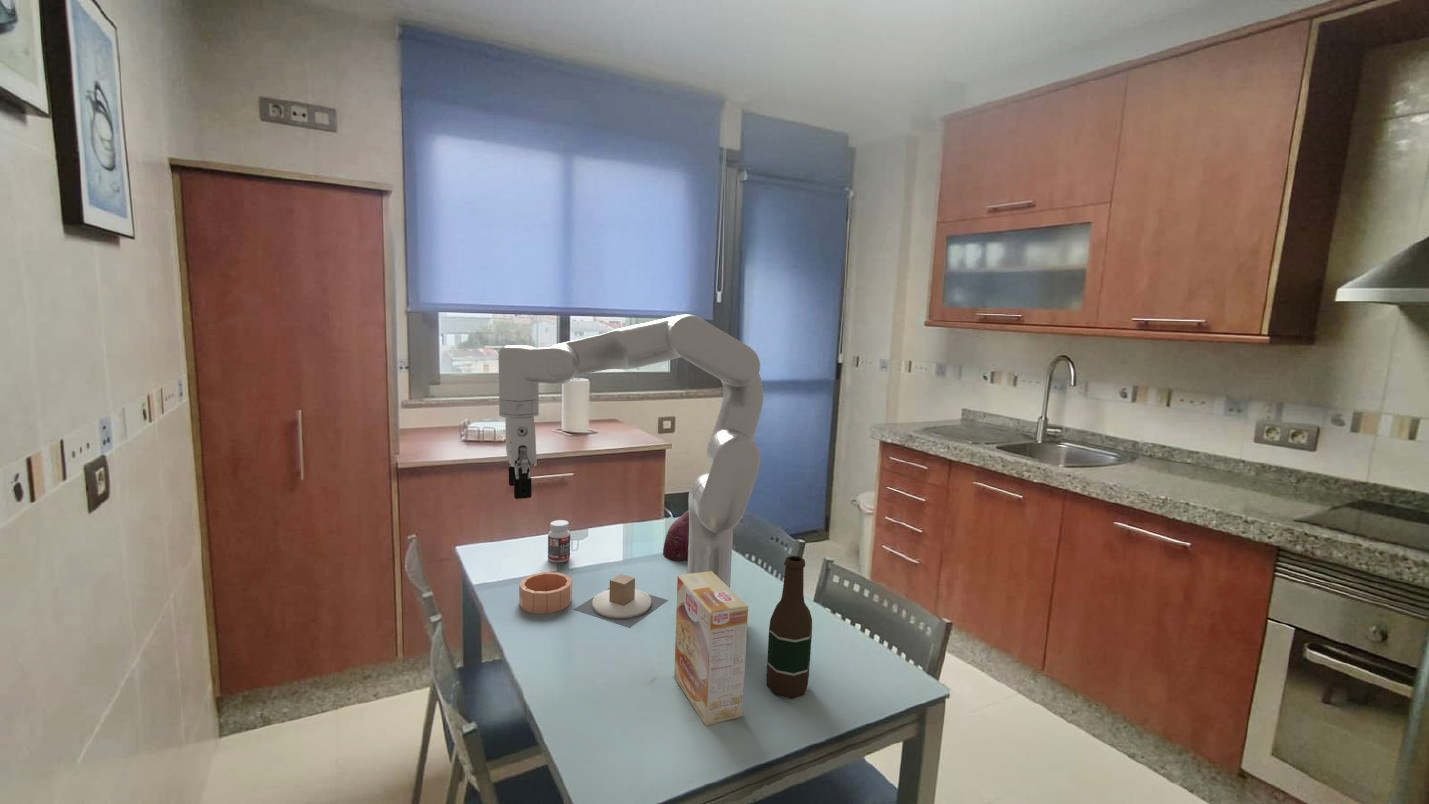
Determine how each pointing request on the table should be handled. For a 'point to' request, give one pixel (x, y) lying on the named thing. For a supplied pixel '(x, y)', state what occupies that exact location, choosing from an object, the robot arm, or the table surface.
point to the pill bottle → (559, 541)
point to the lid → (621, 599)
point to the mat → (626, 622)
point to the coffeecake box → (710, 646)
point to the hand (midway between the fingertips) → (519, 491)
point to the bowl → (545, 592)
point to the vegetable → (678, 539)
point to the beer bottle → (790, 636)
